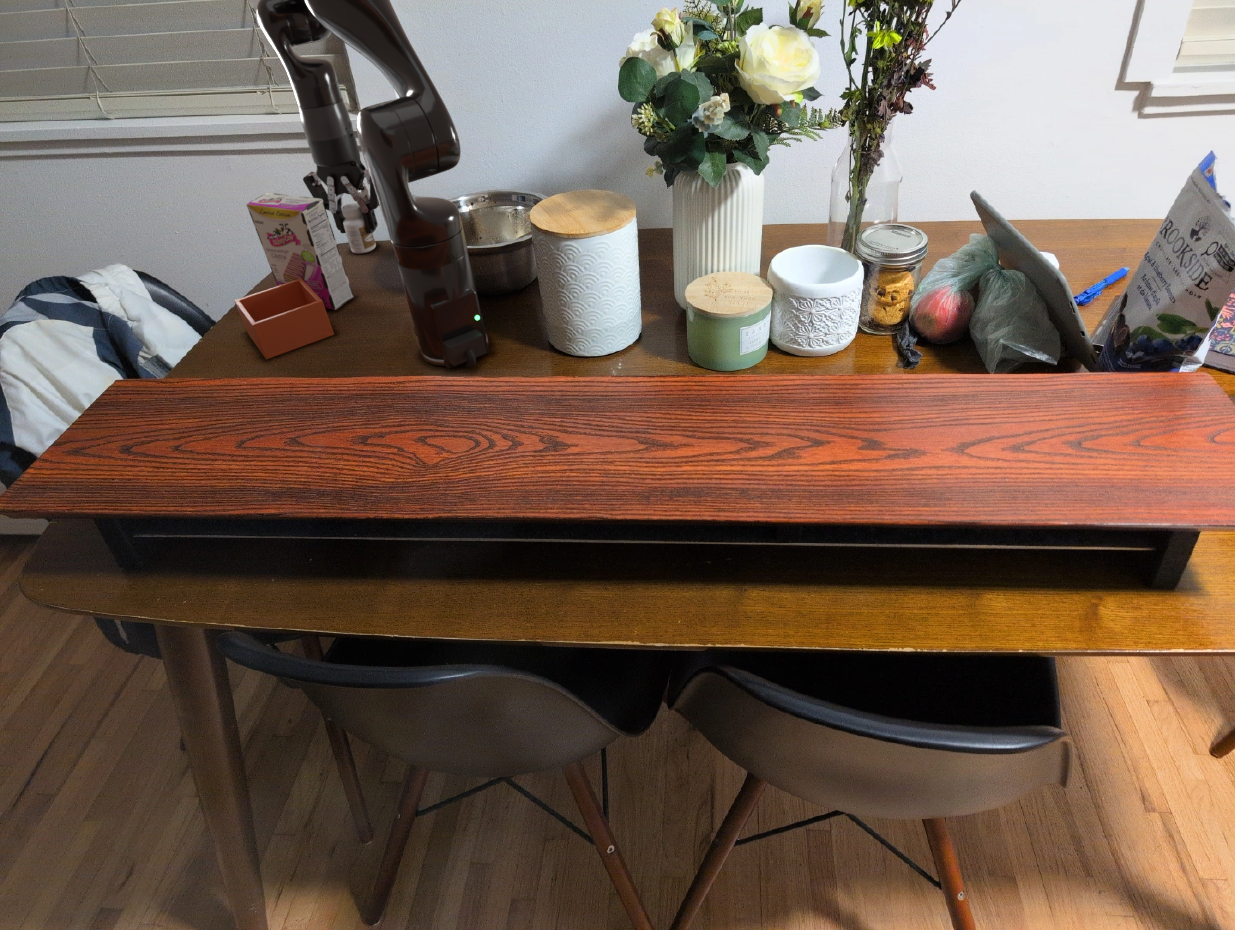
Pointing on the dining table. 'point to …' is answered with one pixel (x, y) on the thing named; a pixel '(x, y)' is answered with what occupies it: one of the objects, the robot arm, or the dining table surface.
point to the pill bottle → (357, 229)
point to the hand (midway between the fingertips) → (358, 230)
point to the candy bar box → (301, 245)
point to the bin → (284, 318)
